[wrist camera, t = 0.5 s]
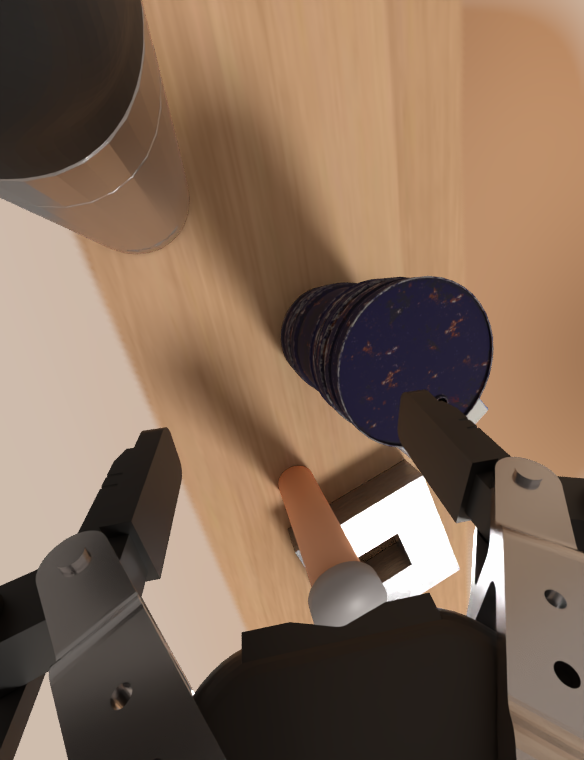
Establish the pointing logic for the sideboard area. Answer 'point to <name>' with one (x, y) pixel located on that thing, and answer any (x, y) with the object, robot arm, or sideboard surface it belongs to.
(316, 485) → the pin
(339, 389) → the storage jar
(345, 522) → the socket block
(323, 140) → the sideboard surface
